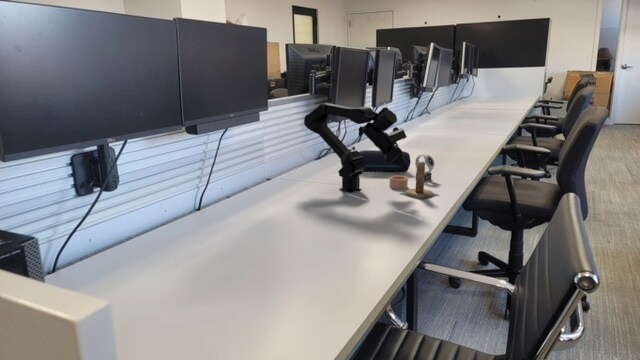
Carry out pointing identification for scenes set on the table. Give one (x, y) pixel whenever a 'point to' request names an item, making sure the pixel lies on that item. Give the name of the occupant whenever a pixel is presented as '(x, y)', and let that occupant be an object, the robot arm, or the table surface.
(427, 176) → the watch
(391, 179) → the bowl
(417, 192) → the lid
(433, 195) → the mat
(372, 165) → the portable speaker
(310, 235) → the table surface
